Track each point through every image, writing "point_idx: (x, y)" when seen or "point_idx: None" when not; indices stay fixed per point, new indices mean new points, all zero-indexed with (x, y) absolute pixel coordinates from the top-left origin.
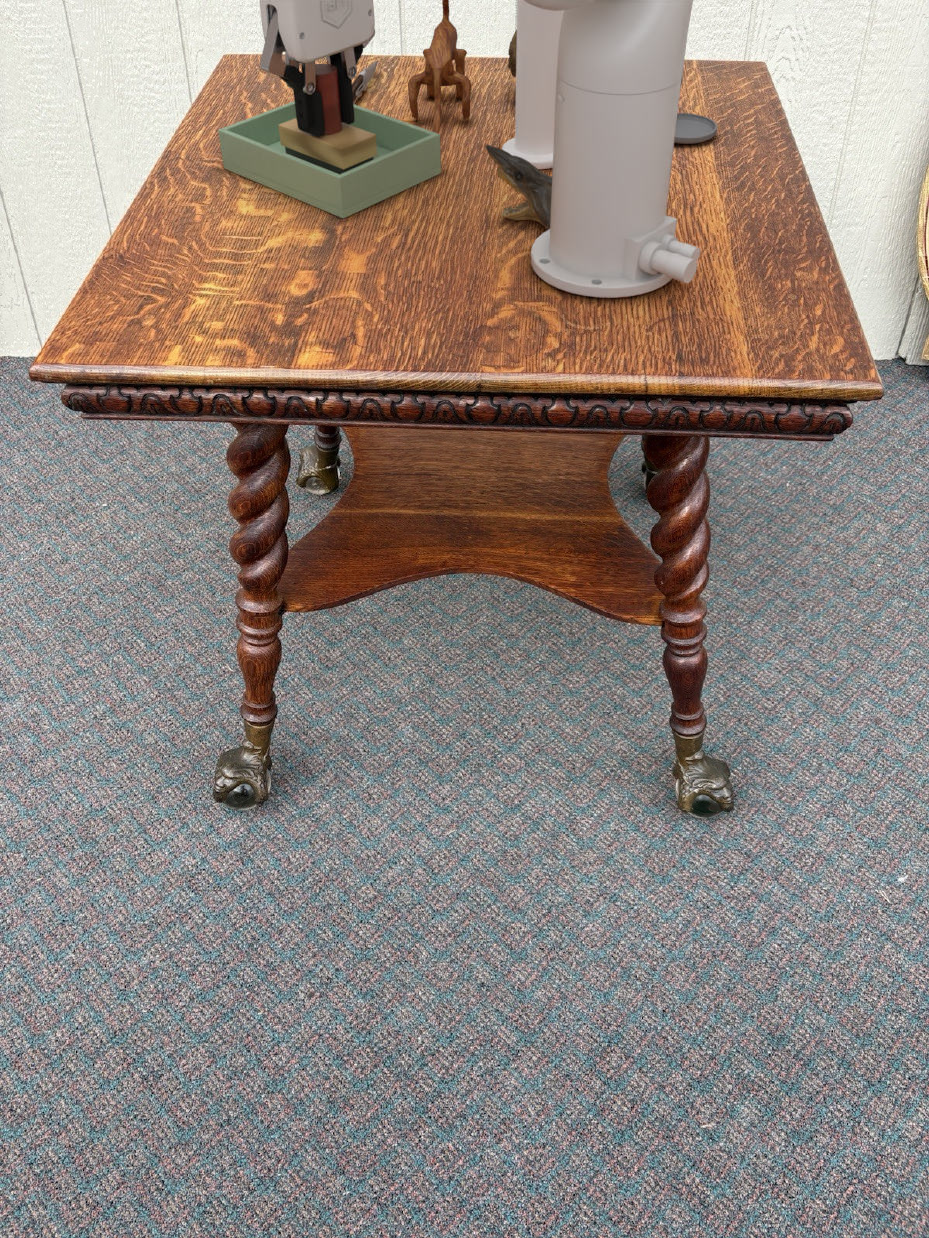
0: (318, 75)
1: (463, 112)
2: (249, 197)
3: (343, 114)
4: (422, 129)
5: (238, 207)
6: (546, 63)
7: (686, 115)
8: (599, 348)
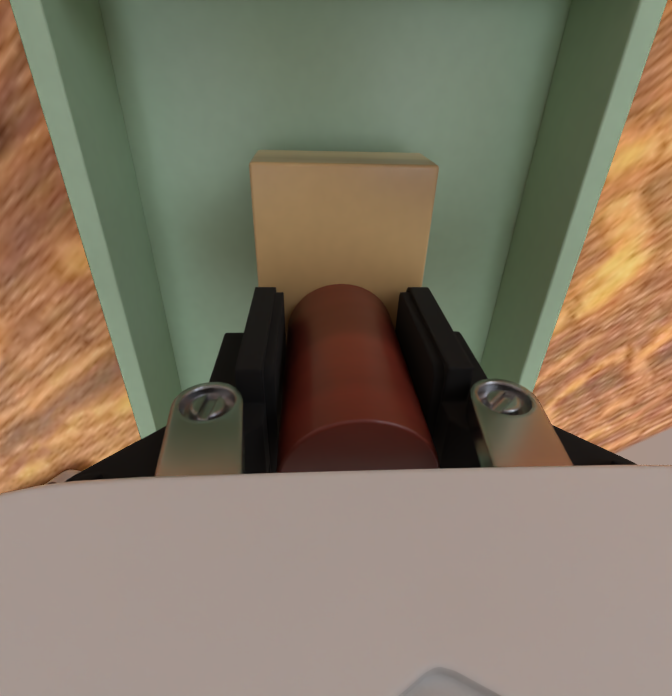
0: (428, 442)
1: None
2: (560, 310)
3: (283, 324)
4: (33, 40)
5: (618, 289)
6: None
7: None
8: None
